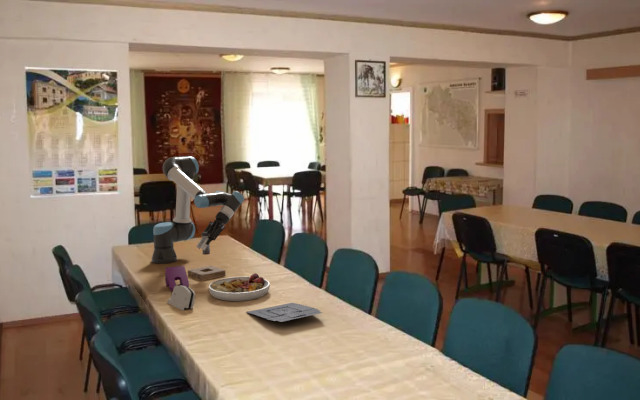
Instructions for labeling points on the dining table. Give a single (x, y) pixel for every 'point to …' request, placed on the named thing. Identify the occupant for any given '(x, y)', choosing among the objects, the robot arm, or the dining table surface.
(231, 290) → the bowl
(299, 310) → the grey flat panel
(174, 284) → the mounting bracket
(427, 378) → the dining table surface
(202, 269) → the socket block
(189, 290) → the napkin holder
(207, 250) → the grey and black cylinder
